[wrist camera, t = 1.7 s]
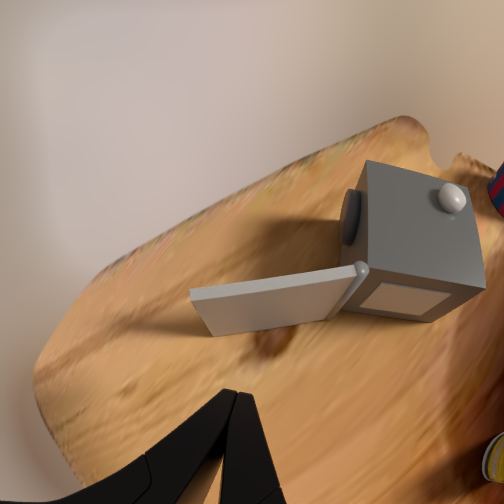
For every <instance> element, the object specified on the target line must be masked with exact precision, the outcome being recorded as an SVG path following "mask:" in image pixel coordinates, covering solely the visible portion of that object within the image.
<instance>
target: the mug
mask: <svg viewBox="0 0 504 504" xmlns="http://www.w3.org/2000/svg"><path fill="white" fill-rule="evenodd" d="M488 192H489V196H490V198H491V201H492V202H493V204H494V206H495V207H496V209H497V210H498V211H499V213H500V214H501V215H502V216H503V217H504V163H503V164H502V165H501V167H500V168H499V169H498V171H497V172H496V173H495V175H494V176H493V177H492V179H491V180H490V181H489V183H488Z"/></svg>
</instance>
